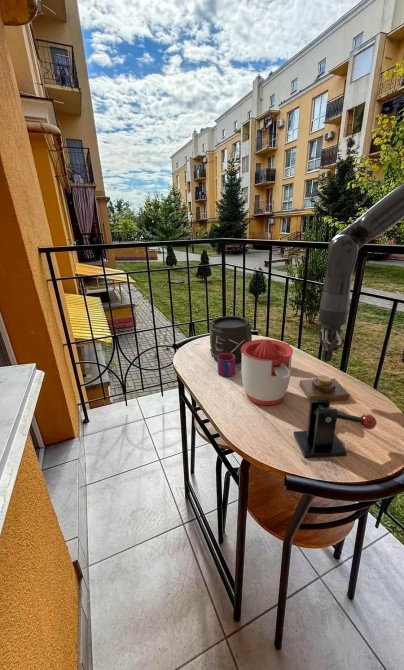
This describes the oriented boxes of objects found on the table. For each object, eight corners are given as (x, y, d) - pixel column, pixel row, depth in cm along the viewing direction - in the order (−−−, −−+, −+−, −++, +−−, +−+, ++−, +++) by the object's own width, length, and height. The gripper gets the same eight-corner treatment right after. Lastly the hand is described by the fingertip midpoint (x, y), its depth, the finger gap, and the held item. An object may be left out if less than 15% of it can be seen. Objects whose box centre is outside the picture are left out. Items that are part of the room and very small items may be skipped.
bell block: (333, 383, 97) (335, 373, 95) (348, 400, 88) (350, 389, 86) (299, 385, 97) (300, 375, 95) (310, 402, 87) (311, 391, 86)
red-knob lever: (366, 424, 71) (373, 412, 70) (375, 433, 68) (382, 422, 66) (311, 412, 69) (317, 400, 68) (317, 421, 66) (323, 409, 65)
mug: (234, 368, 111) (234, 352, 108) (237, 381, 101) (237, 364, 99) (217, 369, 111) (216, 353, 108) (219, 382, 101) (218, 365, 99)
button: (327, 379, 93) (328, 375, 92) (332, 386, 89) (333, 381, 88) (315, 380, 93) (315, 375, 92) (320, 386, 89) (321, 381, 88)
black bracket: (330, 433, 74) (336, 395, 70) (346, 456, 67) (353, 415, 63) (293, 435, 74) (297, 397, 70) (304, 458, 67) (309, 417, 63)
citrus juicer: (260, 419, 81) (262, 356, 74) (232, 389, 96) (231, 335, 89) (303, 405, 86) (309, 345, 79) (270, 379, 101) (273, 327, 94)
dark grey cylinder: (200, 356, 122) (198, 322, 116) (228, 344, 133) (228, 312, 127) (231, 370, 109) (231, 332, 103) (259, 355, 120) (260, 321, 114)
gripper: (359, 312, 75) (349, 369, 82) (336, 300, 88) (329, 351, 94) (331, 314, 75) (323, 371, 82) (312, 301, 88) (306, 352, 94)
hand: (326, 360), depth 88 cm, fingers closed
